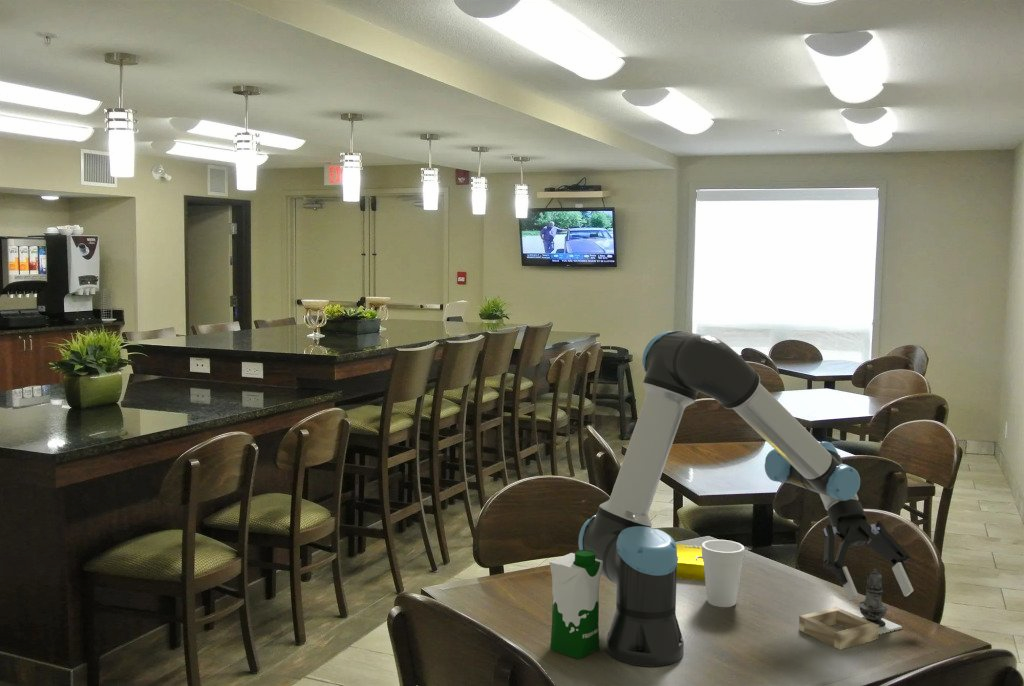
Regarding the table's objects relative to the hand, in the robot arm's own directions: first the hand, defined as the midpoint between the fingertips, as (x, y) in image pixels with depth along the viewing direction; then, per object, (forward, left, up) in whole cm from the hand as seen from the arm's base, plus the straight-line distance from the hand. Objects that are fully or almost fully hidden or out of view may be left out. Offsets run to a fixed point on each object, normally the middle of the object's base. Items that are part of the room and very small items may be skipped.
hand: (881, 596), depth 190 cm
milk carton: (-62, +21, -8) cm, 66 cm away
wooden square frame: (-10, +2, -7) cm, 13 cm away
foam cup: (-19, +27, -8) cm, 34 cm away
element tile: (-10, +47, -8) cm, 49 cm away
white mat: (+1, +2, -7) cm, 8 cm away
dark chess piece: (+1, +3, -7) cm, 8 cm away
